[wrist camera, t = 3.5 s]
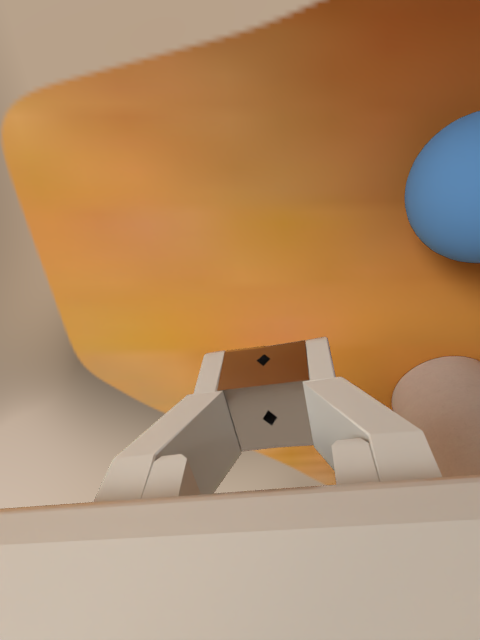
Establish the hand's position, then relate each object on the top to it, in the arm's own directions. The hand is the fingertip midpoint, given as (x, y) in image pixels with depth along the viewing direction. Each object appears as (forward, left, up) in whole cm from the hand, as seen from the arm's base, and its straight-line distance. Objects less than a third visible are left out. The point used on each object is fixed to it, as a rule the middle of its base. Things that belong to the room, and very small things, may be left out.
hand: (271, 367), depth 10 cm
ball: (0, +9, -10) cm, 13 cm away
